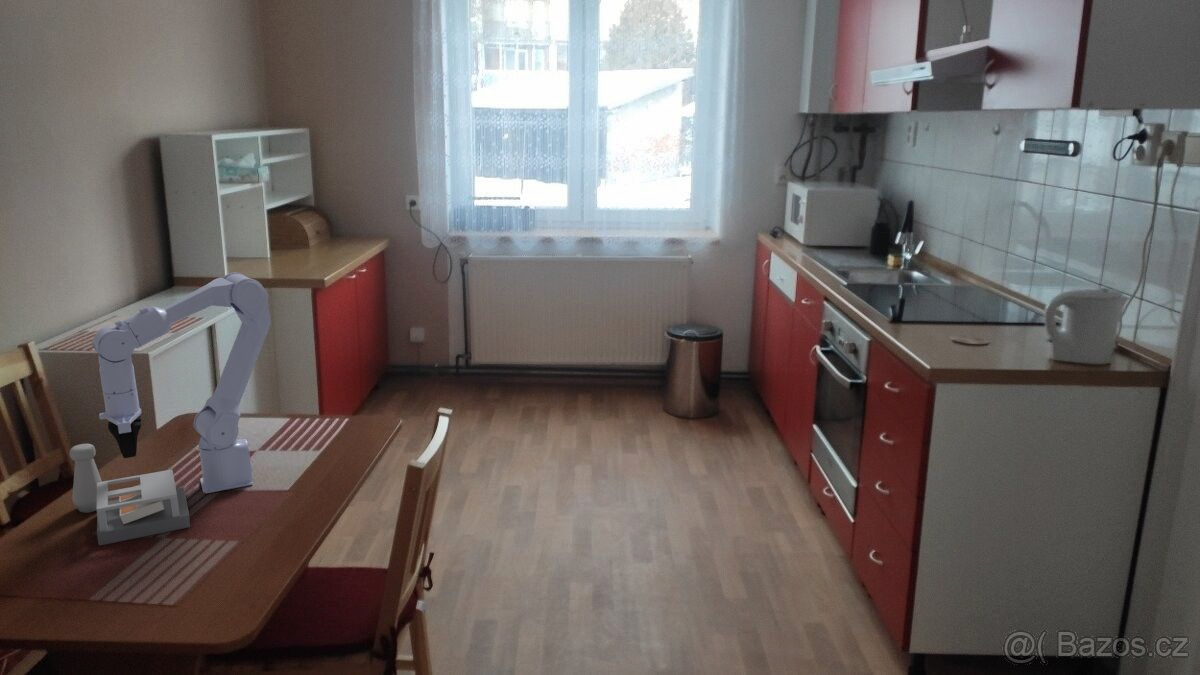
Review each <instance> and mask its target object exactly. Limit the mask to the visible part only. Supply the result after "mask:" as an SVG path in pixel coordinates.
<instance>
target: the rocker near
mask: <svg viewBox="0 0 1200 675" xmlns="http://www.w3.org/2000/svg"><path fill="white" fill-rule="evenodd" d="M138 499H142V497H141V498H138ZM138 499H136V500H138ZM163 509H164V504H163V500H160V501H154V502H149V503H144V504H138V505H133V506H128V507H123V508H120V517H121V520H122V522H123V524H126V523H129V522H132V521H134V520H137V519H140V518H142V517H145V516H147V515H150V514H153V513H155V512H158V511H161V510H163Z"/></svg>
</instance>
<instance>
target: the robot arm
mask: <svg viewBox="0 0 1200 675" xmlns="http://www.w3.org/2000/svg"><path fill="white" fill-rule="evenodd" d="M269 296H270V295H269V293H268V292H267V290H266V289H265V288H264V286H263V285H262V283H261V282H259V281H258V280H257V279H253V278H250V277H248V276H246V275H245V274H243V273H241V272H235V271H234V272H230V273H227V274H225V275H224V276H223V277H218V278H215V279H213V280H212V281H209V282H208V283H207V284H205V285H203V286H201V287H199V288H198V289H196V290H194V291H192V292H191V293H188V294H187V295H185V296H183V297H182V298H180V299H178V300H176V301H174V302H173V303H170V304H169V305H167V306H165V307H158V306H151V307H147V306H143V307H141V308H139V312H138V313H136V314H135V315H132V316H130V317H128V318H126V319H124V320H120V319H119V320H117V321H115V322H114V324H115V325H114V326H105V327H104V326H103V327H101V328H100V329H99V330H97V331H96V334H95V335H94V336H93V340H92V342H91V346H92V348H93V350H95V352H97V353H98V365H99V367H98V368H99V370H98V371H99V377H100V384H101V388H102V396H103V401H104V409H105V411H104V412H101V413H99V414H98V416H99V417H98V418H99V420H107V421H108V422H107V423H108V424H107V428H108V431H109V433H110V434H111V435H112V436H113V437H114V439H115V440H116V442H117V444H118V447H119V450H120V454H121V455H122V457H123V459H129V458H134V457H135V458H136V456H137V450H138V449H137V448H138V447H137V446H138V437H139V432H140V429H141V428H142V417H141V414H142V408H140V402H139V401H140V400H139V394H138V393H139V392H138V389H137V388H138V387H137V382H136V375H135V374H136V373H135V368H134V366H135V365H134V364H133V360H132V355H133V354H134V350H135V349H139V348H142V347H143V346H145V345H147V344H148V343H151V342H152V341H154V340H156V339H158V338H161V337H162V336H164V335H166V334H169V332H170V331H171V328H172V326H173V325H174V323H177V322H178V321H181V320H184V319H185V318H187V317H190V316H191V315H194V314H196V313H198V312H200V311H203V310H205V309H207V308H209V307H212V306H215V307H225V308H233V309H234V312H235V313H236V315H237V317H238V318H239V320H240V322H241V324H240V328H239V329H238V333H237V334H236V337H235V340H234V342H233V344H232V348H231V350H230V353H229V355H228V358H227V360H226V363H225V365H224V368H223V369H222V373H221V376H220V378H219V381H218V382H217V385H216V387H215V391H214V393H213V394H212V395H211V396H210V397H209V398H207V400H206V401H205V403H204V406H203V408H202V409H200V410H199V411H198V412H197V413H196V415H194V420H193V428H194V429H195V431H196V433H197V434H199V435H200V439H199V442H198V450H199V457H200V466H201V467H200V468H201V473H202V474H201V475H202V477H201V478H199V482H200V484H201V488H202V493H203V494H205V495H206V494H211V493H217V492H220V491H225V490H226V491H228V490H231V489H237V488H242V487H247V486H253V484H254V482H253V474H252V473H253V468H252V464H251V456H250V449H249V444H248V441H247V439H246V438H241V439H240V438H239V439H238V436H239V421H240V418H241V407H240V403H241V400H242V398H243V395H244V393H245V390H246V388H247V386H248V382H249V380H250V379H251V375H252V374H253V370H254V368H255V365H256V363H257V360H258V357H259V356H260V353H261V350H262V349H263V348H262V347H263V346H264V342H265V339H266V337H267V334H268V332H269V330H270V327H271V323H272V321H271V320H272V319H271V315H270V314H271V313H270V309H269V307H270V306H269V302H268V300H269Z"/></svg>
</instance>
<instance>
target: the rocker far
mask: <svg viewBox="0 0 1200 675" xmlns="http://www.w3.org/2000/svg"><path fill="white" fill-rule="evenodd" d="M135 486H141V483H140V484H138V485H134V486H133V487H135ZM141 497H142V494H141V493H135V494H130V495H124V496H119V497H118V499H119V502H120V503H122V502H127V501H133V500H136V499H138V498H141Z"/></svg>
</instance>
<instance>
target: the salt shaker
mask: <svg viewBox="0 0 1200 675" xmlns="http://www.w3.org/2000/svg"><path fill="white" fill-rule="evenodd" d="M96 452H97V451H96V447H95V446H94V445H93V444H91V443H80V444H76V445H73V446H72V447H71V448H70V449H69V457H70V459H71V461H74V471H73V472H74V473H73V474H74V475H73V484H72V499H71V500H72V502H73V504H74V506H75V507H76V508H77V510H78V511H79V512H80V513H86V514H87V513H93V512H97V482H103V481H102V478H101V474H100V473H99V470H98V467H97V464H96V462H95V459H94V457H95V456H96Z"/></svg>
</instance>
